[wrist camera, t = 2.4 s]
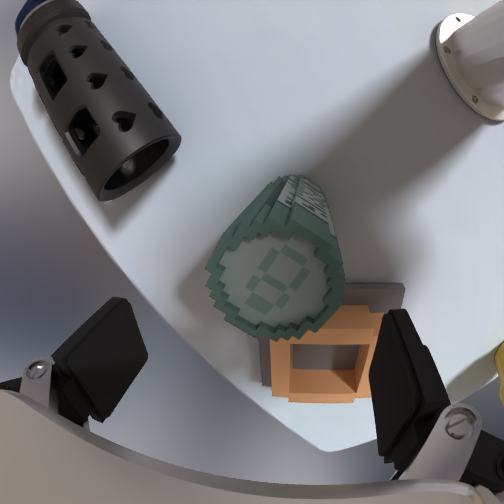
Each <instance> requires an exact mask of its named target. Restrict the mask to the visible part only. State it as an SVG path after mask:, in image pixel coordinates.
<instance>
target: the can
mask: <svg viewBox="0 0 504 504" xmlns="http://www.w3.org/2000/svg"><path fill="white" fill-rule="evenodd" d="M342 264H343V261H342V257H341V253H340V249H339V245H338V241H337V238H336V234H335V230H334V226H333V223H332V219H331V216H330V212H329V209H328V205H327V202H326V199H325V195H323V194H322V193H321V191H320V187H319V186H317V185H316V184H314V183H313V182H311V181H309V180H308V179H306V178H305V177H303V176H302V175H301V176H300V177H299V179H298V178H297V177H295V176H293V175H292V174H291V175H290V177H287V176H284V178H283V179H282V178H280V177H279V178H278V179H277V180H276V181H275V182H274V183H272V182H271V183H270V184H269V185H268V186H267V187H266V188H265V189H264V190H263V191H262V192H261V193H260V194H259V195H258V196H257V197H256V198H255V200H254V201H253V202H252V203H251V204H250V205H249V206H248V207H247V208H246V209H245V210H244V211H243V212H242V214H241V215H240V216H239V217H238V218H237V219H236V220H235V221H234V222H233V223H232V225H231V226H230V227H229V228H228V229H227V230H226V231H225V232H224V234H223V235H222V237H221V239H220V241H219V243H218V245H217V246H216V248H215V250H214V252H213V254H212V256H211V258H210V259H209V261H208V263H207V265H206V267H205V269H206V270H207V271H209V272H211V273H212V275H211V276H210V278H209V280H208V282H207V284H206V285H205V286H206V287H208V288H209V289H211V290H213V291H212V292H211V294H210V297H211V298H213V299H215V300H216V302H215V304H214V307H215V308H217V309H219V310H220V311H222V312H224V313H225V314H227V315H226V317H225V319H224V320H225V321H227V322H229V323H230V324H232V325H234V326H235V327H237V328H239V329H241V330H243V331H244V332H246V333H248V334H250V335H252V336H253V337H255V338H257V339H260V338H261V337H262V335H264V336H266V337H268V338H270V339H272V340H273V341H275V342H277V341H278V340H279V339H280V338H283V339H285V340H287V341H288V340H289V339H290V338H291V337H292V336H293V337H295V338H297V339H299V340H300V338H301V337H302V336H303V335H304V334H305V333H306V332H307V331H308V330H310V331H312V332H314V333H316V332H317V331H318V330H319V329H320V328H321V327H322V326H323V325H324V324H325V323H326V322H327V321H328V320H329V319H330V317H331V316H332V315H333V314H334V313H335V312H336V311H337V310H338V309H339V308H340V306H341V305H342V301H341V293H342V292H343V291H344V289H345V288H346V283H345V279H344V276H345V274H344V270H343V266H342Z"/></svg>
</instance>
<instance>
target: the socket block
mask: <svg viewBox="0 0 504 504" xmlns="http://www.w3.org/2000/svg"><path fill="white" fill-rule="evenodd" d="M404 292H405V287H404V285H403V283H346V288H345V289H344V291H343V292H342V293H341V301H342V305H341V306H340V308H339V309H338V310H337V311H336V312H335V313H334V314H333V315H332V316H331V317H330V319H329V320H328V321H327V322H326V323H325V324H324V325H323V326H322V327H321V328H320V329H319V330H318V331H317V332H316V333H314V332H312V331H310V330H308V331H307V332H306V333H305V334H304V335H303V336H302V337H301V338H300V340H299V339H297V338H295V337H293V336H292V337H291V338H290V339H289V340H288V341H287V340H285V339H283V338H280V339H279V340H278V341H277V342H275V341H273V340H272V339H270V338H268V337H266V336H264V335H262V337H261V338H260V339H259V347H260V360H261V374H262V386H272V396H276V397H289V401H288V402H299V403H353V402H354V399H355V398H370V397H371V390H370V384H369V377H368V375H369V368H370V365H371V361H372V358H373V354H374V350H375V346H376V343H377V339H378V334H379V330H380V326H381V322H382V317H383V315H384V314H388V311H389V310H390V309H401V306H402V301H403V297H404Z"/></svg>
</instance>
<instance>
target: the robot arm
mask: <svg viewBox="0 0 504 504" xmlns="http://www.w3.org/2000/svg"><path fill="white" fill-rule="evenodd" d="M436 46H437V52H438V56H439V59H440V62H441V65H442V67H443V69H444V72H445V74H446V76H447V77H448V79H449V81H450V83H451V84H452V86H453V87H454V89H455V90H456V91H457V93H458V94H459V96H460V97H461V98H462V99H463V100H464V101H465V102H466V104H468V105H469V106H470V107H471V108H472V109H473V110H474V111H476V112H477V113H479V114H480V115H482V116H483V117H486V118H488V119H491V120H496V121H504V0H501V1H500V2H498V3H496V4H495V5H493V6H491V7H490V8H488V9H486V10H485V11H483V12H481V13H480V14H478V15H477V16H475V17H472V16H469V15H466V14H459V13H458V14H452V15H450V16H448V17H446V18H445V19H444V20H443V21H442V22H441V23H440V25H439V26H438V29H437V33H436ZM51 356H52V358H53V360H54V362H55V364H54V365H52V363H51V361H50V360H49V359H48V358H44V357H43V358H37V359H35V360H33V361H31V362H30V363H29V364H28V365H27V366H26V367H25V369H24V372H23V376H22V377H20V378H17V379H13V380H9V381H5V382H2V383H0V504H504V441H503V440H501V439H499V438H497V437H495V436H493V435H491V434H489V433H487V432H485V431H483V430H481V426H482V423H481V418H480V416H479V413H478V412H477V411H476V410H475V409H474V408H473V407H471V406H470V405H468V404H464V403H455V404H452V405H451V403H450V400H449V398H448V395H447V392H446V390H445V387H444V384H443V382H442V379H441V377H440V374H439V372H438V370H437V367H436V365H435V363H434V360H433V358H432V356H431V353H430V351H429V349H428V347H427V346H426V345H423V344H422V342H421V340H420V337H419V335H418V333H417V331H416V329H415V327H414V325H413V323H412V320H411V318H410V316H409V314H408V312H407V311H406V309H390V310H389V311H388V314H384V315H383V317H382V322H381V326H380V330H379V334H378V339H377V343H376V346H375V350H374V354H373V358H372V361H371V365H370V368H369V375H368V377H369V384H370V390H371V396H372V403H373V410H374V417H375V425H376V433H377V443H378V452H379V456H384V463H391V462H394V465H395V469H396V470H397V471H396V472H395V473H394V475H393V476H392V477H391V479H390V480H389V481H384V482H373V483H360V484H344V485H295V484H278V483H267V482H257V481H250V480H242V479H236V478H229V477H225V476H219V475H214V474H210V473H205V472H200V471H197V470H193V469H189V468H185V467H181V466H177V465H174V464H171V463H168V462H164V461H161V460H158V459H155V458H152V457H149V456H147V455H143V454H141V453H138V452H136V451H133V450H131V449H128V448H125V447H123V446H120V445H118V444H116V443H114V442H111V441H109V440H107V439H105V438H103V437H100V436H98V435H96V434H94V433H92V432H90V429H89V421H88V416H89V415H90V416H91V417H92V418H93V419H94V420H97V421H99V422H101V423H103V422H104V420H105V419H106V418H108V417H109V416H110V415H111V413H112V412H113V410H114V409H115V407H116V406H117V404H118V403H119V401H120V400H121V398H122V397H123V395H124V394H125V392H126V391H127V389H128V388H129V386H130V385H131V383H132V382H133V380H134V379H135V377H136V376H137V375H138V373H139V372H140V370H141V369H142V367H143V366H144V364H145V363H146V361H147V359H148V353H147V350H146V347H145V345H144V342H143V339H142V336H141V333H140V331H139V328H138V325H137V322H136V319H135V316H134V313H133V310H132V306H131V304H130V303H129V302H128V301H127V299H125V298H118V297H112V298H111V299H110V300H109V301H107V302H106V303H105V304H104V305H103V306H102V307H101V308H100V309H99V310H98V311H97V312H96V313H94V314H93V315H92V316H91V317H90V318H89V319H88V320H87V321H86V322H85V323H84V324H83V325H82V326H81V327H80V328H79V329H77V330H76V331H75V332H74V333H73V334H72V335H71V336H70V337H69V338H68V339H67V340H66V341H65V342H64V343H63V344H62V345H61V346H60V347H59V348H58V349H57V350H56V351H55V352H54V353H53V354H52V355H51Z"/></svg>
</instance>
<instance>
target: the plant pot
mask: <svg viewBox="0 0 504 504" xmlns="http://www.w3.org/2000/svg"><path fill="white" fill-rule="evenodd" d="M495 363H496V367H497V371H498V376H499V380H500V385H501V388H500V393H499V394H500V398H501V401H502V403H503V406H504V342H503V343H502V344H501V346H500V347H499V348H498V350H497V352H496V355H495Z"/></svg>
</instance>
